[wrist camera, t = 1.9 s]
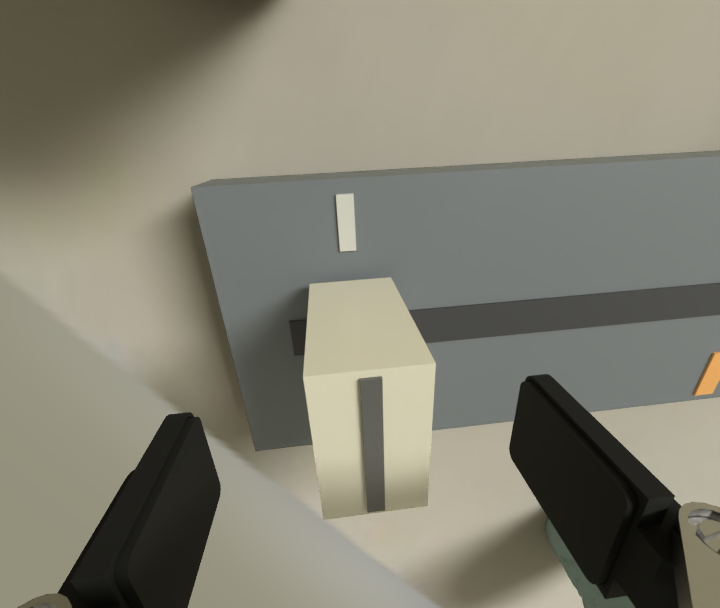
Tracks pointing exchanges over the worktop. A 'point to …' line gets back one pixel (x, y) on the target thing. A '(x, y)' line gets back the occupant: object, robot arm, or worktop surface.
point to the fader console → (481, 278)
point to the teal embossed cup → (582, 576)
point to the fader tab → (367, 398)
